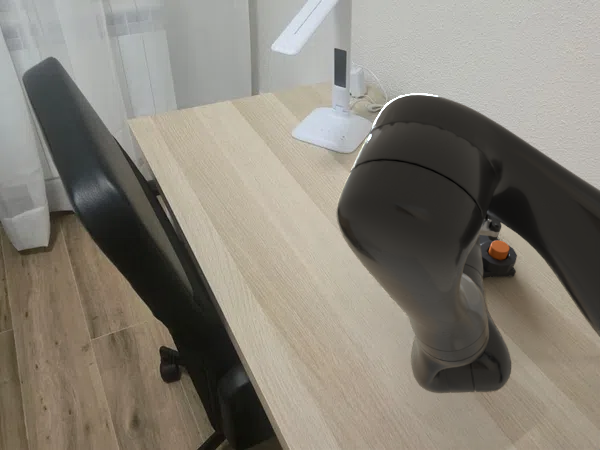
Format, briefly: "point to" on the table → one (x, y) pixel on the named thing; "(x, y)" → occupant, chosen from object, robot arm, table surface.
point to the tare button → (498, 250)
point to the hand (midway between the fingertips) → (447, 186)
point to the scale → (493, 265)
